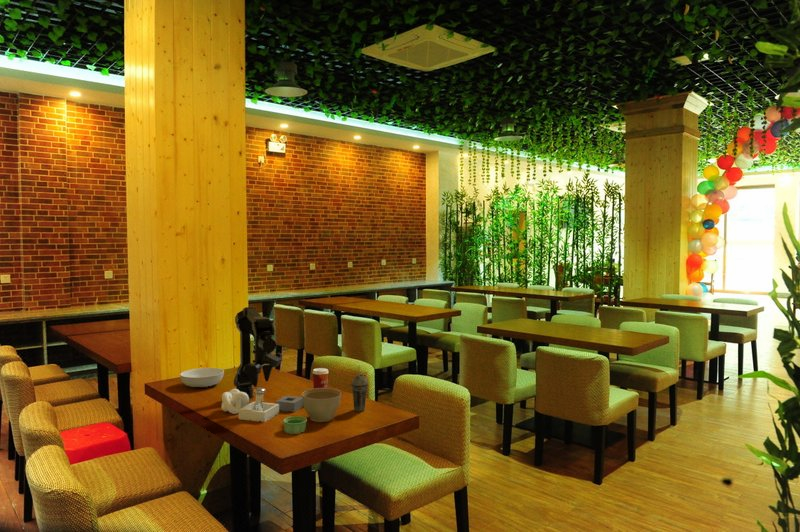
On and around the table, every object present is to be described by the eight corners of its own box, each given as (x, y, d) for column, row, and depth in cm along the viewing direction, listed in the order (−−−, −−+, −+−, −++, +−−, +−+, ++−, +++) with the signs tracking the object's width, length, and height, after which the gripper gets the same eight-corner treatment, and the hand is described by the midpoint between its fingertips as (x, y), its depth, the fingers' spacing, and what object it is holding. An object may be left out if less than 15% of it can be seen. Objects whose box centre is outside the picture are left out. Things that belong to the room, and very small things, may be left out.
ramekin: (285, 436, 204) (285, 424, 204) (281, 428, 212) (281, 417, 212) (309, 433, 208) (309, 421, 208) (303, 425, 216) (303, 415, 216)
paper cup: (325, 402, 248) (325, 372, 247) (309, 400, 250) (309, 370, 249) (330, 397, 256) (331, 368, 255) (315, 396, 257) (315, 367, 257)
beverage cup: (370, 408, 239) (370, 364, 238) (363, 413, 232) (364, 367, 231) (355, 407, 242) (355, 362, 241) (348, 411, 235) (348, 366, 234)
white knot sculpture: (213, 411, 232) (213, 390, 232) (237, 405, 241) (237, 385, 241) (227, 417, 225) (227, 396, 224) (252, 410, 234) (252, 390, 233)
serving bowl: (207, 378, 288) (207, 365, 287) (232, 384, 275) (232, 371, 275) (171, 386, 271) (171, 372, 271) (196, 393, 259) (196, 379, 258)
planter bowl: (293, 419, 223) (293, 393, 223) (322, 410, 236) (323, 385, 235) (319, 428, 213) (319, 401, 213) (348, 418, 225) (349, 392, 225)
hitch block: (275, 410, 235) (275, 401, 235) (285, 404, 244) (285, 395, 244) (294, 412, 233) (294, 403, 232) (303, 406, 241) (303, 397, 241)
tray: (238, 419, 222) (238, 409, 222) (254, 410, 234) (254, 401, 234) (264, 422, 219) (264, 412, 219) (279, 413, 231) (279, 404, 231)
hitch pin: (251, 414, 225) (251, 389, 224) (257, 411, 229) (257, 387, 229) (261, 416, 224) (261, 391, 223) (266, 412, 228) (267, 388, 228)
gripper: (267, 353, 218) (266, 391, 219) (289, 345, 236) (288, 380, 237) (243, 351, 221) (242, 389, 222) (266, 343, 239) (266, 377, 240)
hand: (261, 384), depth 230 cm, fingers open, 9 cm apart
